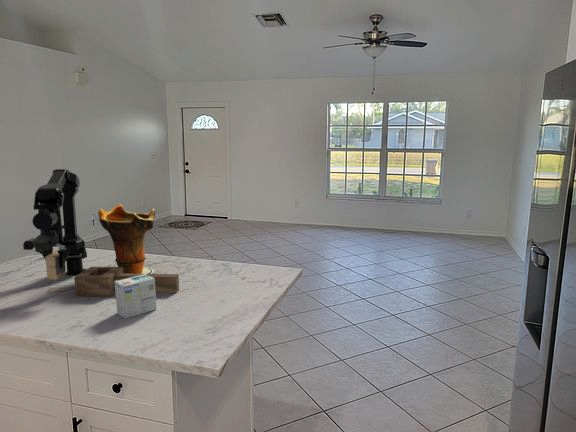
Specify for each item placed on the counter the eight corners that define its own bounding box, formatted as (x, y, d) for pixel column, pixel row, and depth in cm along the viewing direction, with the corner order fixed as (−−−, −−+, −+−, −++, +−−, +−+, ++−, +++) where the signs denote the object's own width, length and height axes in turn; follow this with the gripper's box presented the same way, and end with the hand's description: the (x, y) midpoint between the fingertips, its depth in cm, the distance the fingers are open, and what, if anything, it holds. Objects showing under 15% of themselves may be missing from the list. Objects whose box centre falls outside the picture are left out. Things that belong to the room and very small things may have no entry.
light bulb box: (147, 304, 141) (145, 272, 139) (157, 309, 136) (155, 277, 134) (115, 313, 133) (113, 280, 131) (125, 319, 129) (122, 285, 127)
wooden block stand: (92, 284, 159) (91, 266, 158) (182, 285, 158) (181, 267, 157) (76, 296, 147) (74, 277, 146) (173, 297, 146) (172, 278, 145)
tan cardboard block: (57, 273, 151) (55, 252, 150) (67, 273, 151) (65, 252, 150) (47, 279, 145) (45, 256, 144) (57, 279, 145) (55, 256, 144)
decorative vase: (147, 282, 160) (139, 209, 156) (92, 282, 164) (82, 211, 159) (171, 266, 181) (164, 201, 176) (121, 266, 184) (113, 203, 180)
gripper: (9, 228, 137) (15, 275, 140) (66, 229, 137) (70, 275, 139) (31, 222, 148) (35, 265, 151) (83, 222, 148) (87, 265, 150)
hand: (56, 268), depth 148 cm, fingers closed on tan cardboard block, 3 cm apart
